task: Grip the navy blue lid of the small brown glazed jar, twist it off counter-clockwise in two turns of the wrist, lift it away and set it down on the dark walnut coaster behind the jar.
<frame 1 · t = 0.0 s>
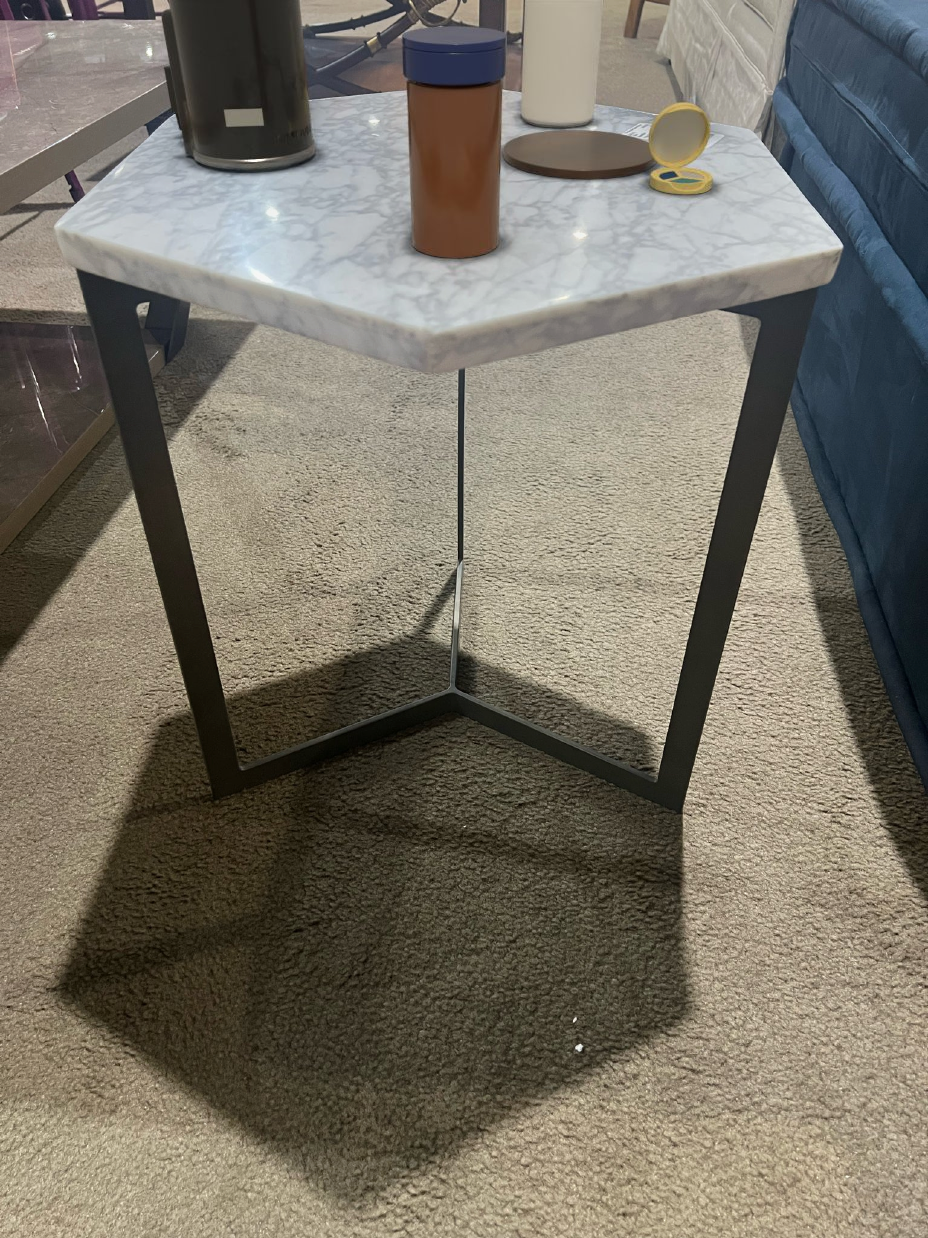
jar: (455, 242, 58), on the table
jar lid: (454, 42, 51), point 11 cm above the table, screwed on, not yet turned
can: (556, 122, 82), on the table
eyeshadow: (678, 186, 67), on the table
coaster: (579, 156, 73), on the table
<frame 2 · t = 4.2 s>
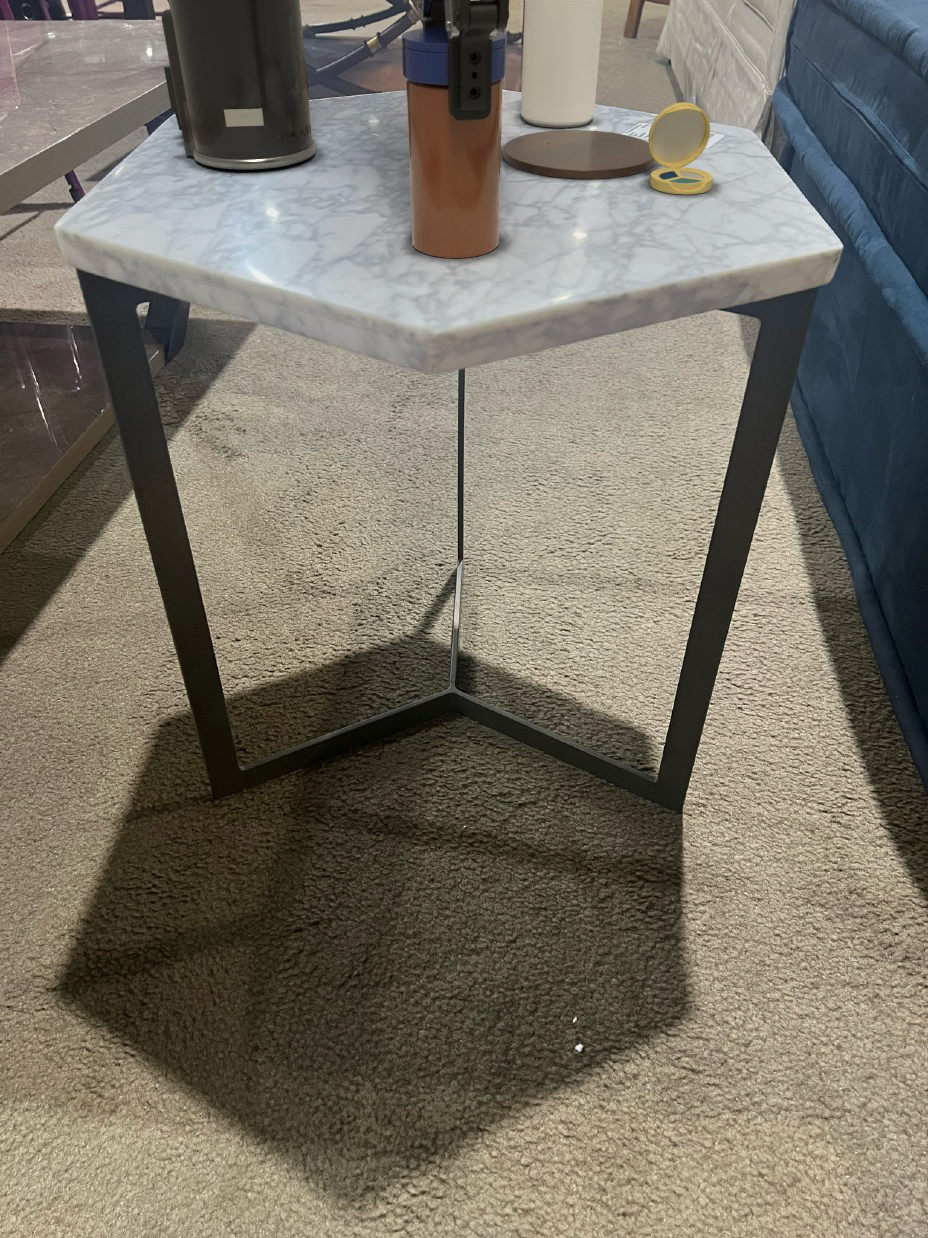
hand: (456, 104, 53), 8 cm above the table, tool pointing down, fingers closed on jar lid, 5 cm apart
jar lid: (454, 43, 51), point 11 cm above the table, screwed on, not yet turned, touching gripper
everything else where it was.
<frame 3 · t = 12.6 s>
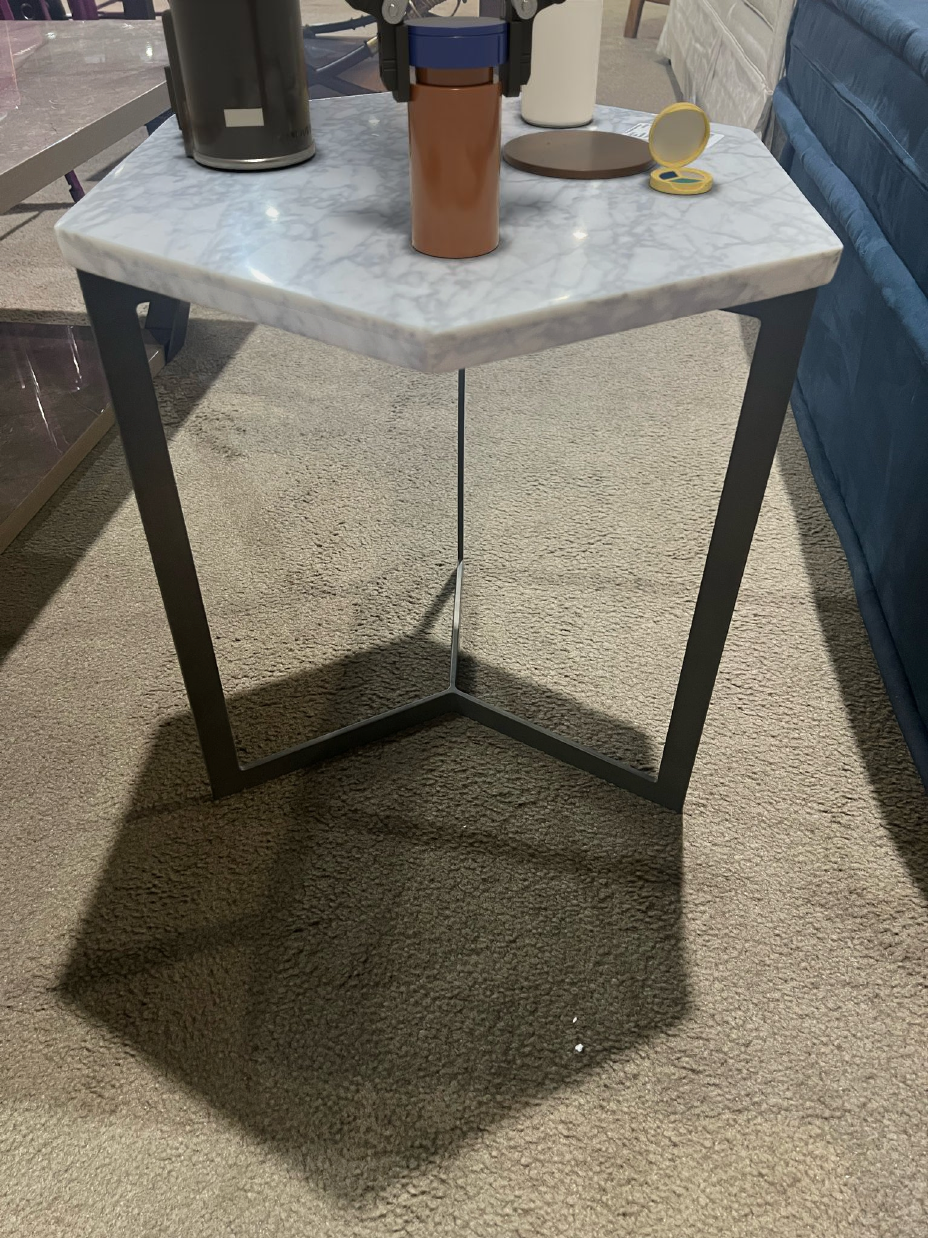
hand: (456, 95, 52), 8 cm above the table, tool pointing down, fingers closed on jar lid, 5 cm apart
jar lid: (455, 29, 50), point 11 cm above the table, off its thread, touching gripper
everything else where it was.
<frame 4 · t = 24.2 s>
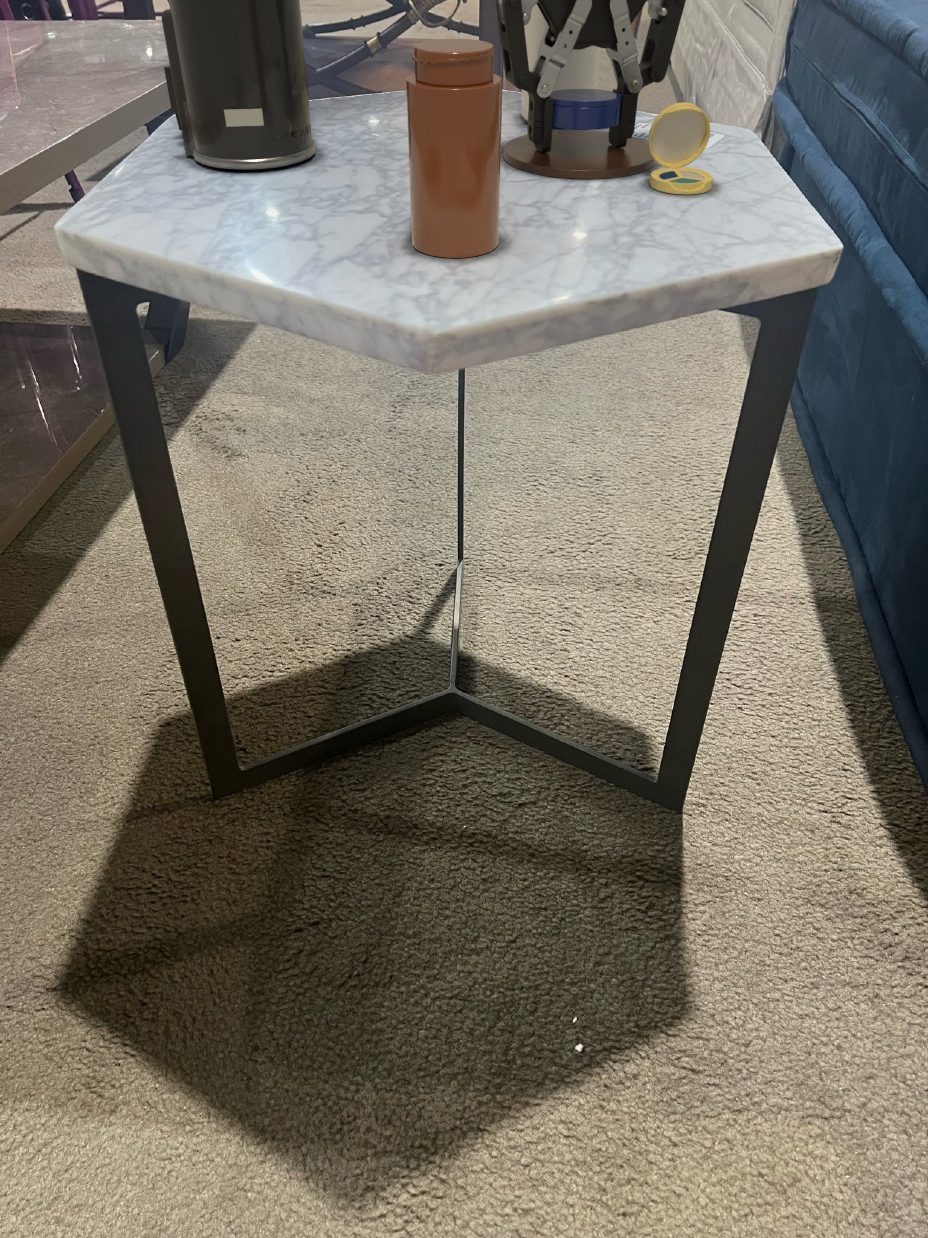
hand: (580, 146, 72), 1 cm above the table, tool pointing down, fingers closed on jar lid, 5 cm apart
jar lid: (583, 100, 70), point 4 cm above the table, off its thread, touching gripper
everything else where it was.
when the fingers open (1 cm above the table, at t = 28.4 s): jar lid drops 2 cm, resting on coaster.
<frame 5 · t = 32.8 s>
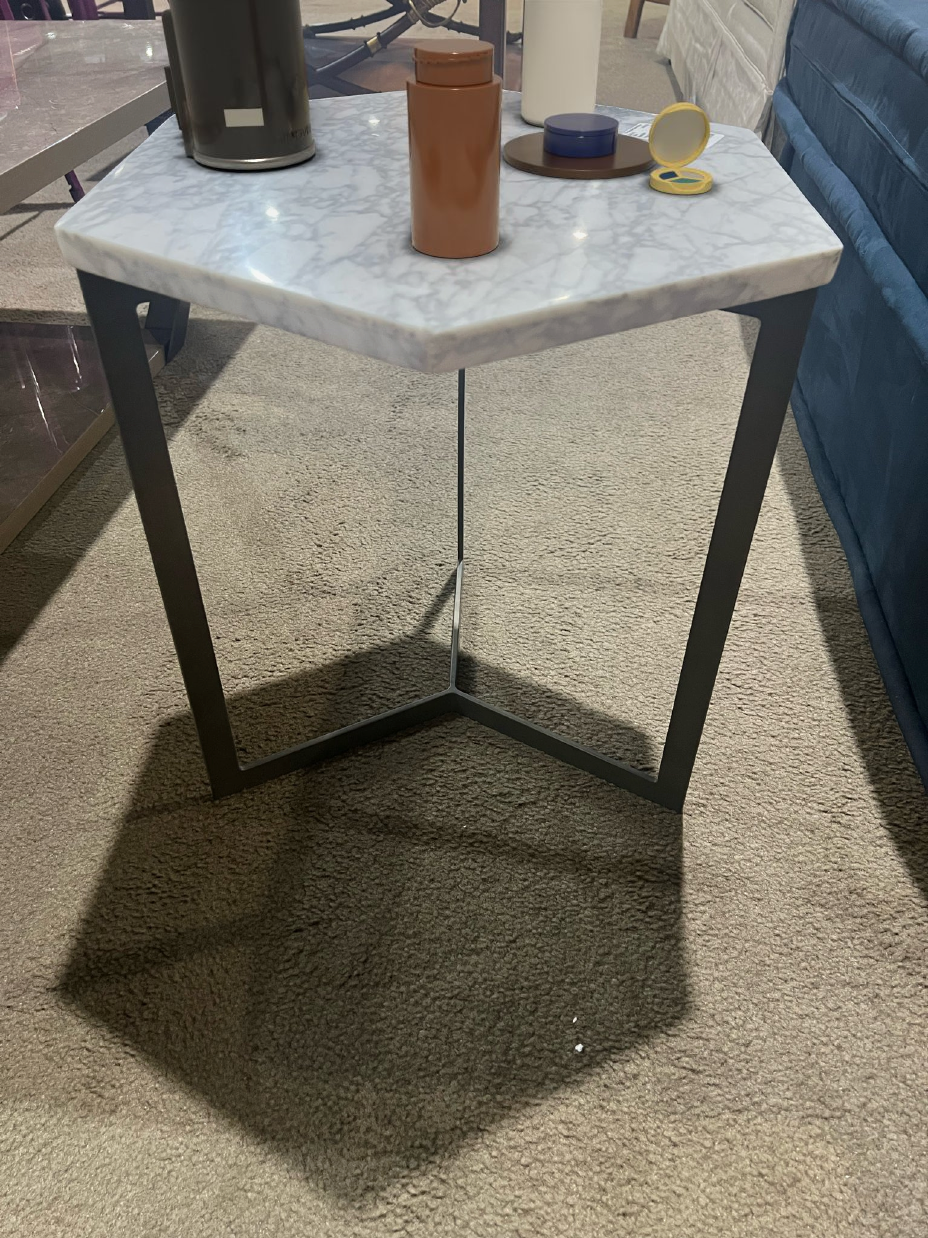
jar lid: (581, 126, 71), point 2 cm above the table, off its thread, touching coaster
everything else where it was.
at the end: jar lid inside the target area on the coaster (0.1 cm from its centre), point 2.1 cm above the coaster's base; jar lid point 2.1 cm above the table; the gripper is holding nothing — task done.
